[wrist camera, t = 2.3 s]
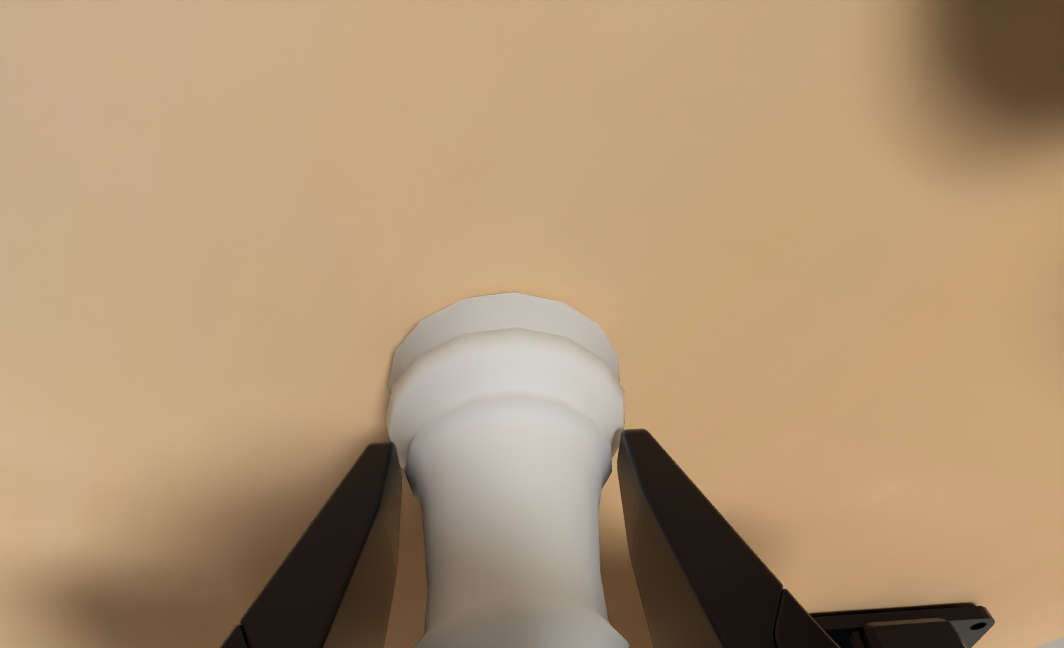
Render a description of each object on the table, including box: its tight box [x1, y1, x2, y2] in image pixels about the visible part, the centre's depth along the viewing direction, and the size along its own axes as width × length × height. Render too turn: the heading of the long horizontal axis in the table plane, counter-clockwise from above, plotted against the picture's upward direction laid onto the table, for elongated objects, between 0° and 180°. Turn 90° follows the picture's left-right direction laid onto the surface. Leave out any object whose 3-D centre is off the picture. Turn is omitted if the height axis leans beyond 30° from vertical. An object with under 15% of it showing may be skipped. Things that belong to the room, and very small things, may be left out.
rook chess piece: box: [386, 292, 629, 648], centre depth 9 cm, size 4×4×8 cm
